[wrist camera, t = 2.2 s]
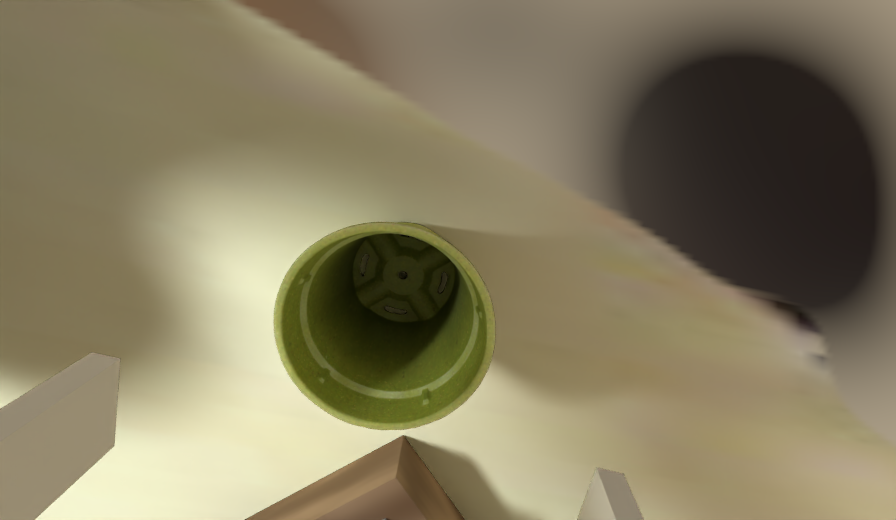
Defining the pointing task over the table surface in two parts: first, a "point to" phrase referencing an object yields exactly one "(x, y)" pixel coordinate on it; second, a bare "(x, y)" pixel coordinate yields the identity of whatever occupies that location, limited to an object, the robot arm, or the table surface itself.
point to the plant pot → (384, 326)
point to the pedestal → (370, 491)
